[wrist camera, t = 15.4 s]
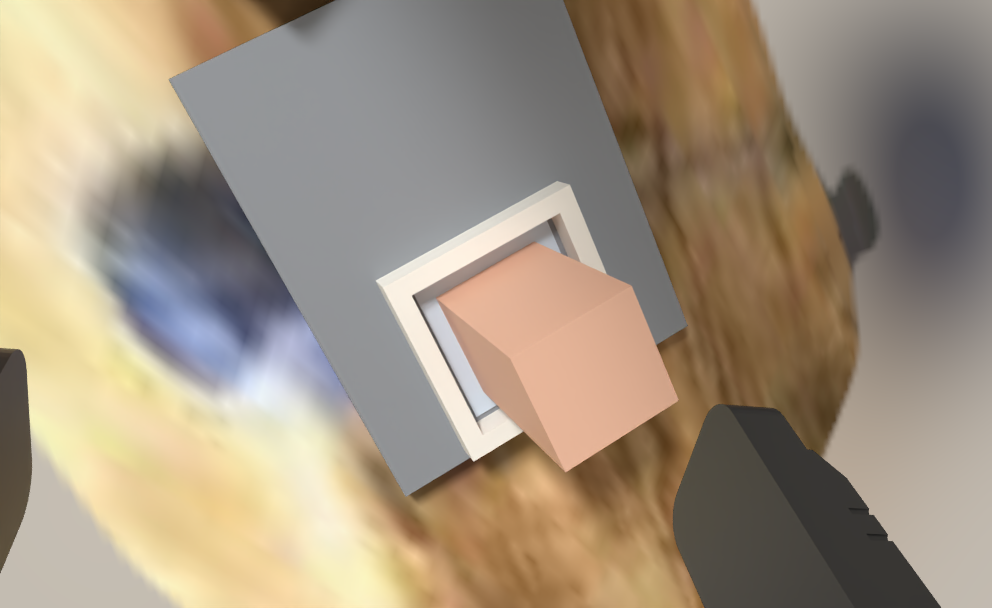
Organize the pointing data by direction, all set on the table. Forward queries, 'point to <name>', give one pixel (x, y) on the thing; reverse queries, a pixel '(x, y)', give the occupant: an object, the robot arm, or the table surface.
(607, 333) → the pillar block
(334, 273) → the build board
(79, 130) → the table surface
